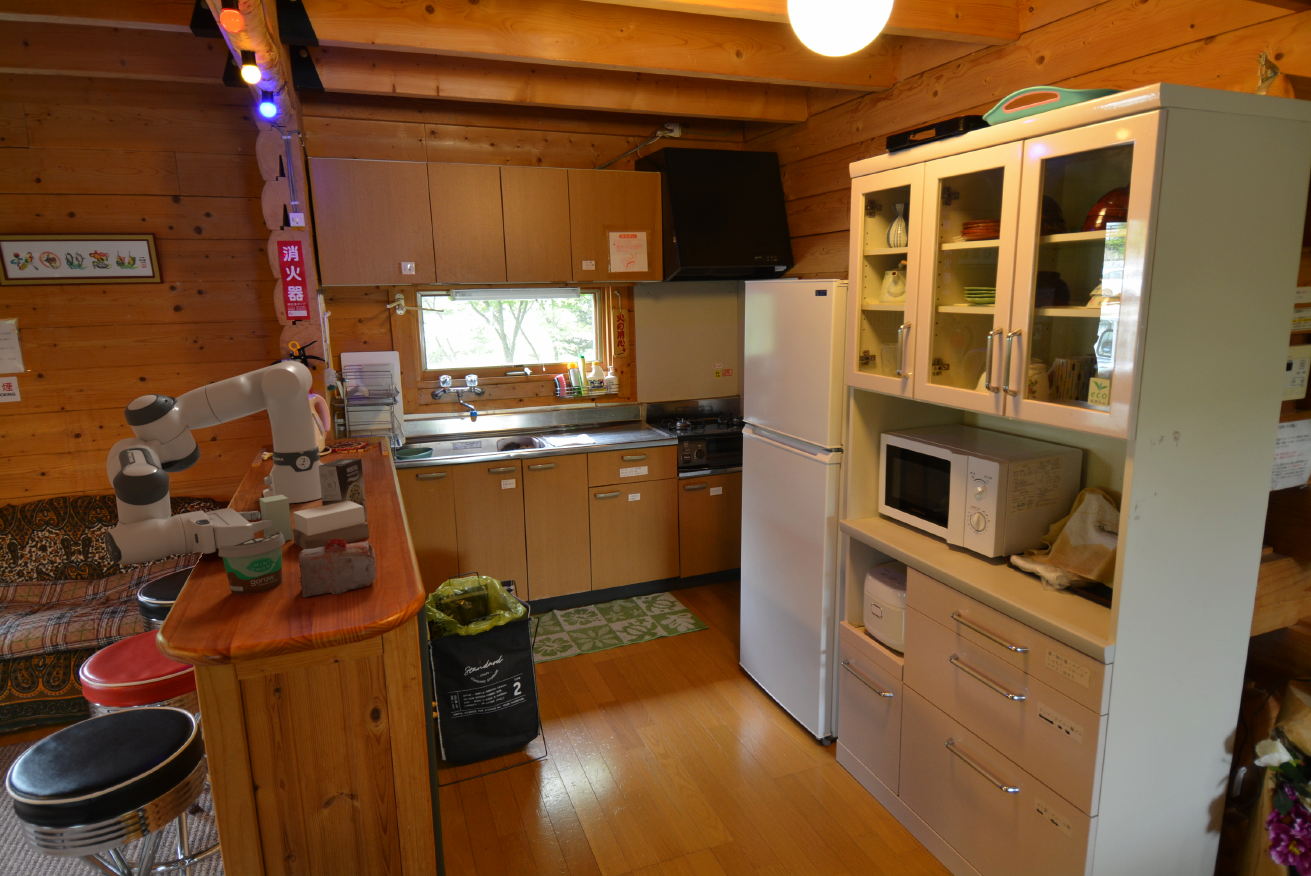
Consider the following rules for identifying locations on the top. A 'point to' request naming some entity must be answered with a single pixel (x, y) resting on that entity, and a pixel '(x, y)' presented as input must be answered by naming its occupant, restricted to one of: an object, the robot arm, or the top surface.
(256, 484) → the top surface
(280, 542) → the food container
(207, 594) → the top surface
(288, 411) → the robot arm
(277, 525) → the green block
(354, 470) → the coffee box
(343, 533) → the walnut slab
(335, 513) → the white slab
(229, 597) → the top surface
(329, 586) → the food item
